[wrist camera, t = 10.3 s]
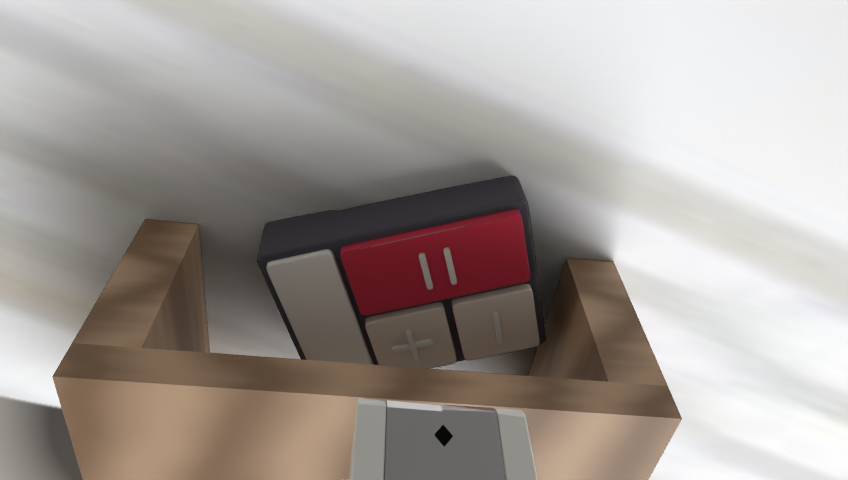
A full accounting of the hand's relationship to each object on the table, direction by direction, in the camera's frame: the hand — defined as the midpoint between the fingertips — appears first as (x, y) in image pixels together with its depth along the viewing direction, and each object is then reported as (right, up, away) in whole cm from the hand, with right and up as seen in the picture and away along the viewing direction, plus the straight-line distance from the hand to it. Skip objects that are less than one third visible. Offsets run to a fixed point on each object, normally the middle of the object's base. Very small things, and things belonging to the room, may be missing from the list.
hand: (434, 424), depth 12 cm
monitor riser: (-3, -3, +31) cm, 32 cm away
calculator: (-1, +2, +29) cm, 29 cm away
